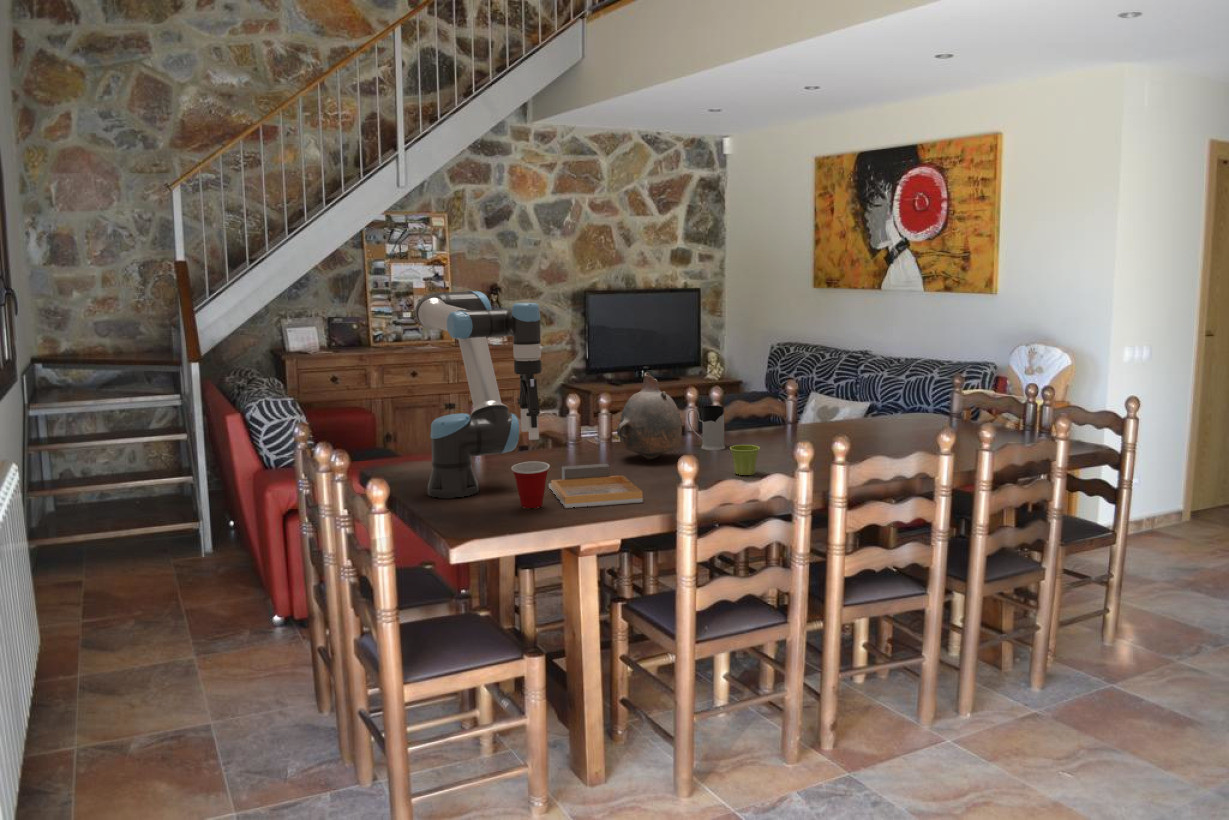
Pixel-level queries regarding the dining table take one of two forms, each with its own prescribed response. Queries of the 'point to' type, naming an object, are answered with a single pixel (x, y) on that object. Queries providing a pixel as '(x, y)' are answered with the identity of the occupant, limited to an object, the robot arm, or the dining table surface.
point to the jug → (650, 421)
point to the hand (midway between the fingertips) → (529, 435)
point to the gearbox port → (594, 487)
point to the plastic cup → (531, 482)
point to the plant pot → (744, 458)
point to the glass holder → (711, 427)
